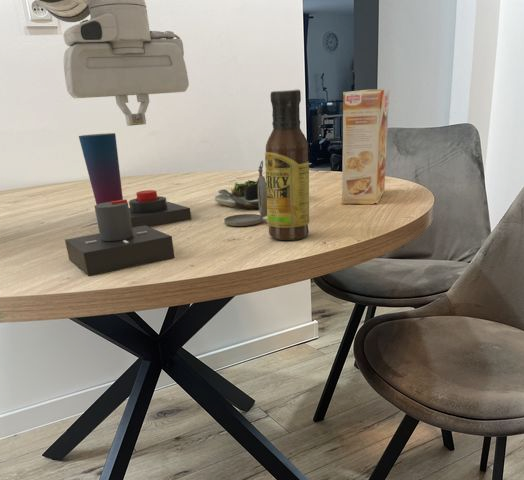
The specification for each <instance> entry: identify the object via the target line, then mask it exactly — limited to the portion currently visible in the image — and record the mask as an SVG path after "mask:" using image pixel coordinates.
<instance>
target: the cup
mask: <svg viewBox="0 0 524 480" xmlns="http://www.w3.org/2000/svg"><path fill="white" fill-rule="evenodd" d="M116 135H117V134H116V132H107V133H93V134H92V133H91V134H83V135H79V136H78V139H79V143H80V147H81V150H82V151H81V152H82V154H83V158H84V162H85V166H86V170H87V173H88V177H89V182H90V185H91V186H90V187H91V189H92V193H93V196H94V201H95V205H97V204H100V203H105V202H111V201H118V200H124V199H123V198H124V197H123V188H122V179H121V171H120V164H119V155H118V154H119V153H118V145H117V138H116V137H117V136H116Z"/></svg>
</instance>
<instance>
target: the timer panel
mask: <svg viewBox="0 0 524 480" xmlns="http://www.w3.org/2000/svg"><path fill="white" fill-rule="evenodd" d="M132 230H133V237H131V238H129V239H125V240H120V241H103V240H101V237H100V232H98V233H94V234H88V235H82V236H77V237H71V238H66V239H64V244H65V247H66V252H67V256H68V259H69V261H70V262H71V263H72V264H74V265H75V266H76V268H78V269H79V270H81V271H82V272H83V273H84V274H85V275H86V276H88V277H90V276H94V275H100V274H104V273H108V272H114V271H118V270H122V269H123V270H124V269H127V268H132V267H136V266H142V265H147V264H150V263H151V264H152V263H155V262H160V261H165V260H170V259H174V258H175V250H174V242H173V236H172V235H170V234H168V233H165V232H163V231H160V230H158V229H155V228H154V227H148V226H146V225H144V226H139V227H133V228H132Z"/></svg>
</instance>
